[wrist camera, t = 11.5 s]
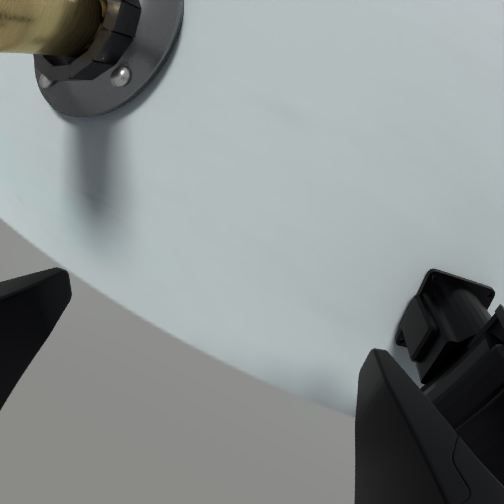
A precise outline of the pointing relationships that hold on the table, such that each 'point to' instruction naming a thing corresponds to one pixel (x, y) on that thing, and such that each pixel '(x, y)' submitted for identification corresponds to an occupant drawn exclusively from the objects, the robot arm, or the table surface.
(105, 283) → the table surface
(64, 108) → the grey flange
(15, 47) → the brass pepper mill
